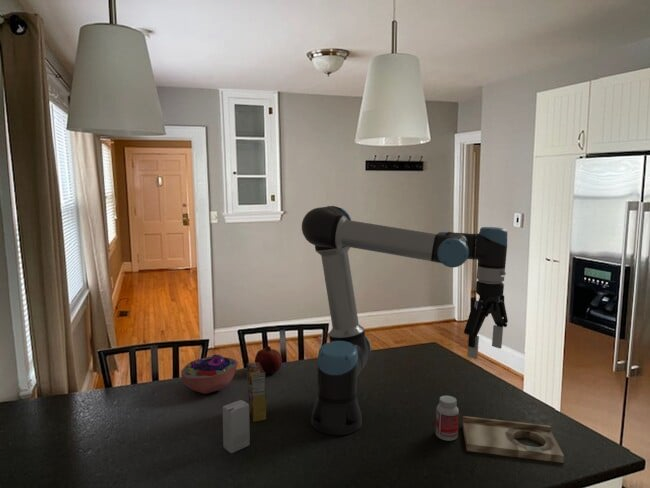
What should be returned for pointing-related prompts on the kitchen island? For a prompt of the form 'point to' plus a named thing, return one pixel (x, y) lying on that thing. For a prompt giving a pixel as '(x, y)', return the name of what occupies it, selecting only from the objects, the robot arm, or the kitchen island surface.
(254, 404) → the candy box
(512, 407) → the kitchen island surface
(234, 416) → the skincare box
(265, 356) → the fruit
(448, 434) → the pill bottle
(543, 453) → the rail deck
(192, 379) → the cell model
